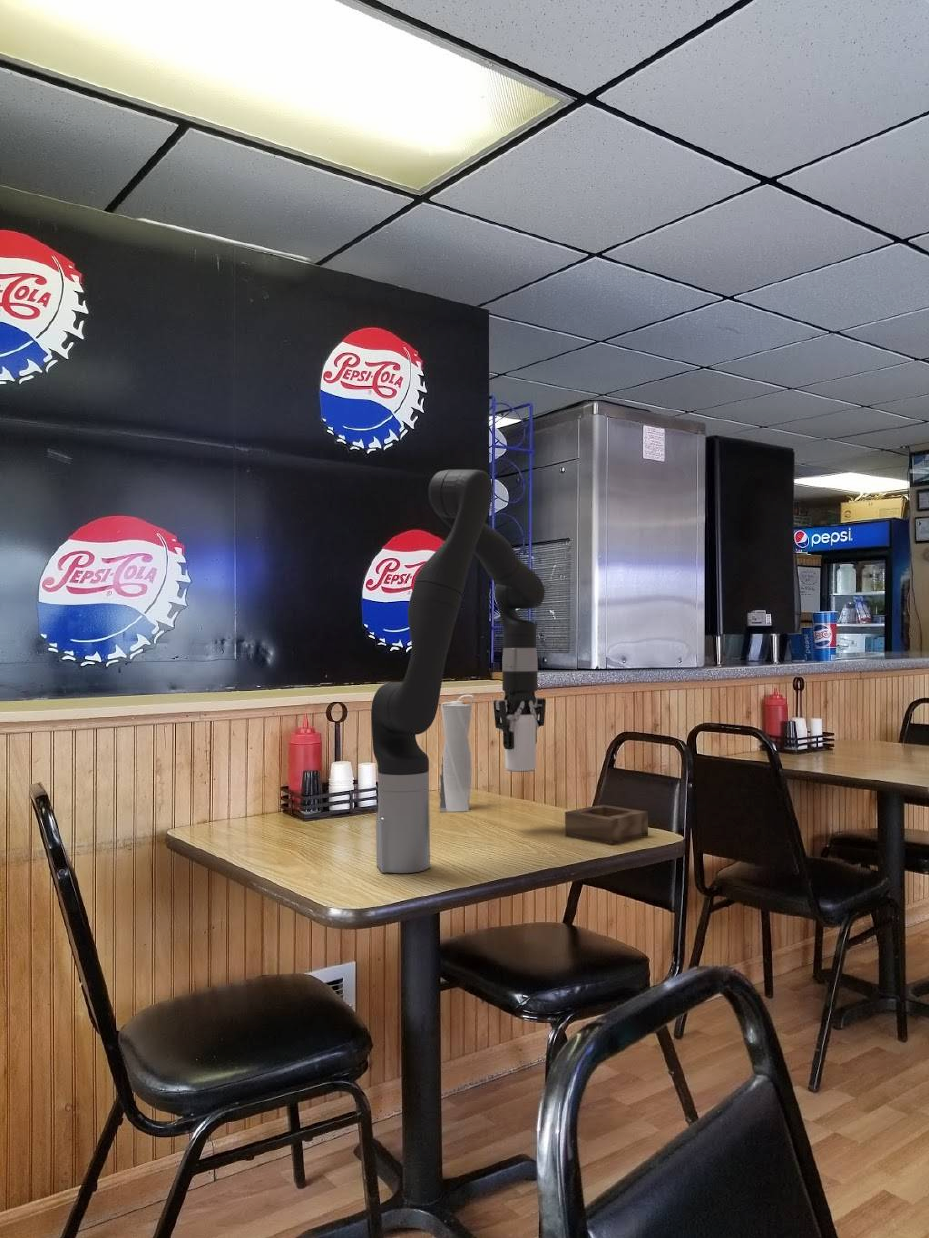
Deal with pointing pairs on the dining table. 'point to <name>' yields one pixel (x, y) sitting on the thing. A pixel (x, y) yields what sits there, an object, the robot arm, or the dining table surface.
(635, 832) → the box
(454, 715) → the grey water bottle
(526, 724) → the can
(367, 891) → the dining table surface
